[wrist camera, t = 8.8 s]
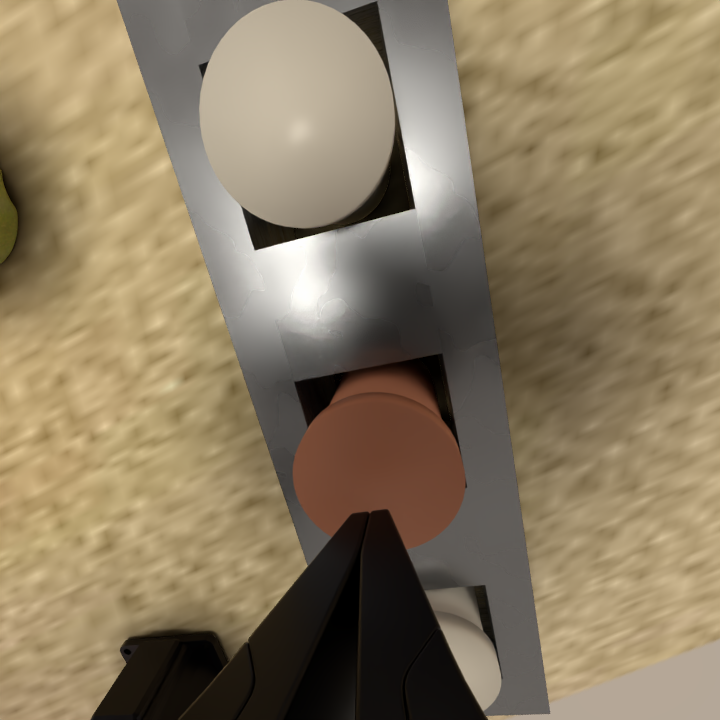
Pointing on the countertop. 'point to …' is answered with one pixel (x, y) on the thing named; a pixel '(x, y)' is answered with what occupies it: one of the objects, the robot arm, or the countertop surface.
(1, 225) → the plant pot
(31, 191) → the countertop surface
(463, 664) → the ivory plug far
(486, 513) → the socket block
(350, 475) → the rust plug
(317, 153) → the ivory plug near
